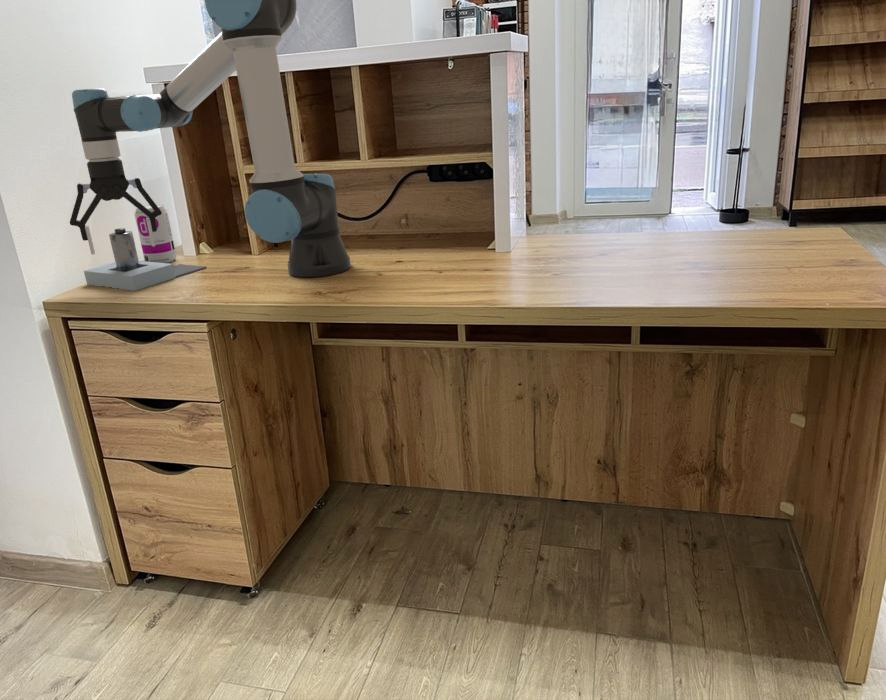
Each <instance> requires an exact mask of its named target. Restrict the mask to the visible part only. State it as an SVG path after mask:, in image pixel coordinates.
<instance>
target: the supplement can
mask: <svg viewBox="0 0 886 700" xmlns="http://www.w3.org/2000/svg"><path fill="white" fill-rule="evenodd" d="M156 205H157V206H158V208H159V209H160V210H161V212H162V214H161V215H159V216H157V217H156V218H155V222H156V227H157V231H156V232H153V237H154V242H155V246H152V245H151V240H150V236H149V231H148V226H147V221H146V218H149V217H148V216H147V215H145V214H144V213H143V212H142V211H140V210H139V209H138V208H137V207H136V208H135V213H134V218H135V223H136V227H137V231H138V236H139V241H140V246H141V250H142V254H143V255H142V256H143V259H144V261H146V262H157V263H167V264H170V263H172V262H175V259H176V258H177V254H176V249H175V248H176V247H175V244H174V239H173V234H172V230H171V229H172V228H171V223H170V219H169V214H168V213H169V212H168V210H167V209H166V207H165V206H164V204H156ZM143 206H144V207H146V208H147V209H148V210H149V211H151V212H153V211H154V210H153V208H152V207H151V206H150V205H149V204H148V205H143Z"/></svg>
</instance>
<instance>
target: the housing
mask: <svg viewBox="0 0 886 700" xmlns="http://www.w3.org/2000/svg"><path fill="white" fill-rule="evenodd" d="M139 265H140V268H138V269H134V270H131V271H127V272H121V271H117V267H116V263H115V262H112V263H108V264H104V265H100V266H98V267H94V268H89V269H86V270H83V274H84V277H85V282H86V285H87V286H93V285H94V287H101V286H105V287H104V288H109V287H112V288H111V289H117V288H119V290H127V291H134V292H135V291H139V290H141V289H145V288H148V287H151V286H154V285H158V284H161V283H163V282H167V281H171V280H173V279H176V277H175V272H174V267H173V266H174V264H173V263H157V262H146V261H145V260H144V261H143V260H139Z"/></svg>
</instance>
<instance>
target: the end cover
mask: <svg viewBox="0 0 886 700" xmlns="http://www.w3.org/2000/svg"><path fill="white" fill-rule="evenodd" d="M113 231H114V232H112V233H109V236H108V237H109V240H110V245H111V248H112V254H113V256H114V257H113V258H114V263H116V267H117V271H121V272H127V271H131V270H134V269H138V268H140V265H139V261H140V260H139V257H138V256H139V255H138V253H137V252H138V251H137V247H136V242H135V237H134V235H133V231H131V230H126V228H124V227H120V228H114V230H113Z"/></svg>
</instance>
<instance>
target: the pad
mask: <svg viewBox="0 0 886 700" xmlns="http://www.w3.org/2000/svg"><path fill="white" fill-rule="evenodd" d="M173 267H174V272H175V277H176V278H180V277H182V276H186V275H188V274H192V273H195V272H198V271H202V270H204V269H205V270H206V269H207V266H206V265H205V266H203V265H195V264H194V265H193V264H181V263H179V264H175V265H173ZM176 278H175V279H176Z"/></svg>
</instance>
